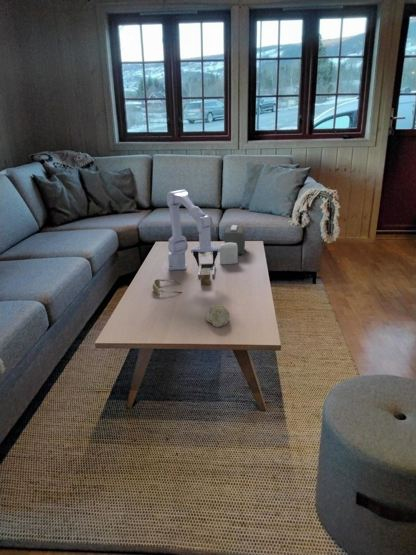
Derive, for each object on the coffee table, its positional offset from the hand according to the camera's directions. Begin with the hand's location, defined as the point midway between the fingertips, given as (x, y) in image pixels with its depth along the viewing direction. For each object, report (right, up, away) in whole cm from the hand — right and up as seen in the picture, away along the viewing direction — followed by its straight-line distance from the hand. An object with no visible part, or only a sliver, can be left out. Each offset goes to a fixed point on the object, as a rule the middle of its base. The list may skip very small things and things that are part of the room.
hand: (206, 265), depth 211 cm
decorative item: (+5, -25, -35) cm, 44 cm away
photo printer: (+13, +2, +27) cm, 30 cm away
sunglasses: (-19, -13, -3) cm, 23 cm away
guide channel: (0, -3, +16) cm, 16 cm away
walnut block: (0, -9, +3) cm, 9 cm away
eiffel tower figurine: (-2, +9, +47) cm, 48 cm away
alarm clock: (+18, +10, +45) cm, 49 cm away
